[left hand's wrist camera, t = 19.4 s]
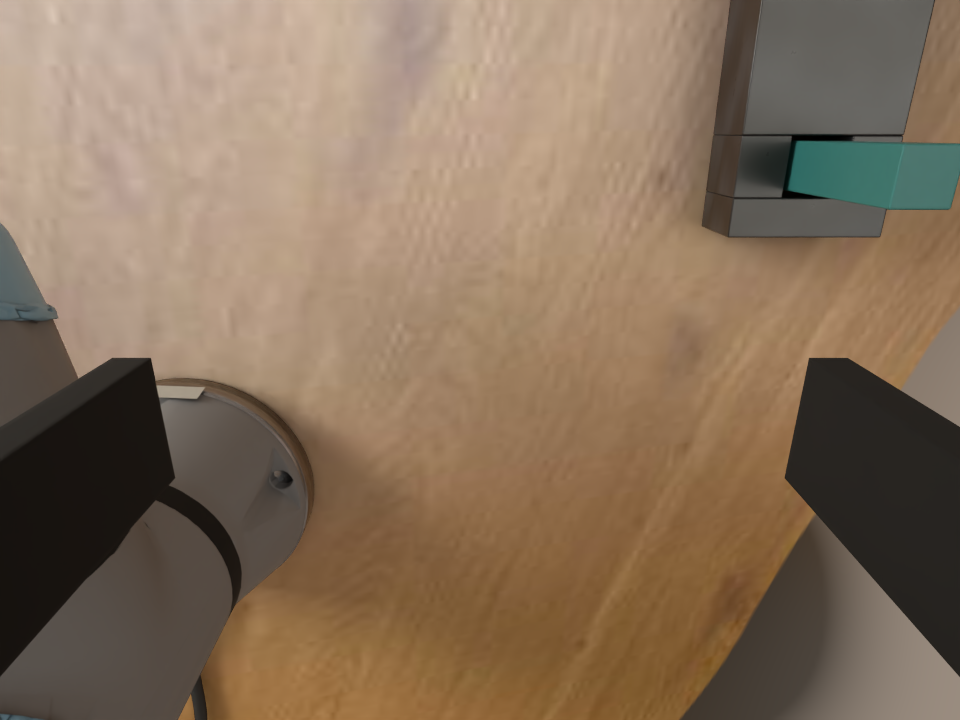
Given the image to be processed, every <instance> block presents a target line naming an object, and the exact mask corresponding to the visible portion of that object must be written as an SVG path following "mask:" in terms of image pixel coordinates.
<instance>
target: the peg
mask: <svg viewBox="0 0 960 720" xmlns="http://www.w3.org/2000/svg"><path fill="white" fill-rule="evenodd" d="M959 175H960V144H956V143H911V142H867V141H822V140H791V146H790V152H789V158H788V164H787V170H786V175H785V181H784V187H783V190H787V191H792V192H798V193H803V194H808V195H814V196H819V197H824V198H830V199H835V200H840V201H846V202H851V203H856V204H862V205H867V206H872V207H878V208H883V209H888V210H948V209H950V208H951V205H952V201H953V197H954V194H955V190H956V186H957V182H958V179H959Z"/></svg>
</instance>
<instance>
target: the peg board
mask: <svg viewBox="0 0 960 720" xmlns="http://www.w3.org/2000/svg"><path fill="white" fill-rule="evenodd" d="M934 2H935V0H731V2H730V10H729V18H728V25H727V33H726V41H725V49H724V57H723V65H722V72H721V80H720V88H719V96H718V104H717V112H716V119H715V127H714V136H713V142H712V150H711V158H710V166H709V174H708V181H707V189H706V190H707V192H706V197H705V205H704V213H703V221H702V226H703V227H705V228H708V229H710V230H712V231H715V232H717V233H719V234H722V235H724V236H726V237H880V236H881V232H882V227H883V223H884V219H885V214H886V210H887V209H883V208H878V207H872V206H867V205H862V204H856V203H851V202H846V201H840V200H835V199H830V198H824V197H819V196H814V195H808V194H803V193H798V192H792V191H783V187H784V181H785V175H786V170H787V164H788V158H789V152H790V146H791V140H792V136H791V135H814V136H813V137H812V140H822V141H867V142H902V140H903V136H901V135H904V132H905V127H906V123H907V119H908V115H909V110H910V106H911V102H912V97H913V93H914V89H915V84H916V80H917V76H918V71H919V67H920V63H921V58H922V54H923V50H924V45H925V41H926V37H927V32H928V28H929V24H930V19H931V15H932V11H933V7H934Z"/></svg>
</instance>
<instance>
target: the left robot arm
mask: <svg viewBox="0 0 960 720" xmlns="http://www.w3.org/2000/svg"><path fill="white" fill-rule="evenodd" d="M57 318H58V315H57V312H56V310H55V308H54V307H52V306H51V305H48V304H47V303H46V302H45V300H44V298H43V296H42V294H41V292H40V290H39V288H38V286H37V284H36V282H35V280H34V279H33V277H32V275H31V273H30V271H29V269H28V267H27V265H26V263H25V261H24V259H23V257H22V255H21V253H20V251H19V249H18V247H17V245H16V243H15V241H14V239H13V238H12V236H11V235H10V233H9V232H8V230H7V229H6V228H5V227H4V226H3V225H2V224H1V223H0V720H178V718H179V716H180V714H181V712H182V710H183V708H184V706H185V704H186V702H187V700H188V698H189V696H190V694H191V696H192V701H193V707H194V715H195V720H207V709H206V701H205V696H204V690H203V685H202V680H201V675H200V674H201V672H202V670H203V668H204V666H205V664H206V662H207V660H208V658H209V656H210V654H211V652H212V650H213V648H214V646H215V644H216V642H217V640H218V638H219V636H220V634H221V632H222V630H223V628H224V626H225V624H226V622H227V620H228V618H229V616H230V614H231V612H232V610H233V608H234V606H235V605H236V603H238V602H239V601H240V600H241V599H242V598H243V597H244V596H246V595H247V594H248V593H249V592H250V591H251V590H252V589H254V588H255V587H256V586H257V585H258V584H259V583H261V582H262V581H263V580H264V579H265V578H266V577H267V576H269V575H270V574H271V573H272V572H273V571H274V570H276V569H277V568H278V567H279V566H281V565H282V564H283V563H284V562H285V561H286V560H287V559H288V557H289V556H290V555H291V554H292V552H293V551H294V549H295V548H296V546H297V545H298V543H299V540H300V538H301V536H302V534H303V532H304V530H305V527H306V525H307V523H308V520H309V518H310V515H311V511H312V507H313V501H314V481H313V475H312V471H311V466H310V464H309V461H308V458H307V456H306V453H305V451H304V449H303V447H302V445H301V444H300V442H299V441H298V439H297V437H296V436H295V435H294V433H293V432H292V431H291V429H290V428H289V427H288V426H287V425H286V424H285V423H284V421H283V420H282V419H281V418H279V417H278V416H277V415H276V414H275V413H274V412H273V411H272V410H270V409H269V408H268V407H266V406H265V405H264V404H262V403H261V402H259V401H258V400H256V399H254V398H253V397H251V396H249V395H247V394H245V393H243V392H241V391H239V390H236V389H234V388H232V387H229V386H226V385H223V384H219V383H215V382H211V381H206V380H200V379H189V378H174V379H165V380H159V381H155V376H154V371H153V366H152V362H151V358H112V359H110V360H108V361H107V362H105V363H103V364H102V365H100V366H99V367H97V368H95V369H94V370H92V371H90V372H89V373H87V374H86V375H84V376H82V377H81V378H79V379H78V376H77V374H76V372H75V369H74V367H73V365H72V362H71V360H70V358H69V356H68V353H67V351H66V349H65V346H64V344H63V342H62V339H61V337H60V335H59V332H58V330H57V328H56V325H55V323H54V321H53V319H57ZM785 479H786V480H787V481H788V482H789V483H790V485H791V486H792V487H793V488H794V489H795V490H796V491H797V493H798V494H799V495H800V496H801V497H802V498H803V499H804V500H805V502H806V503H807V504H808V505H809V506H810V507H811V508H812V510H813V511H814V512H815V513H816V514H817V515H818V516H819V518H820V519H821V520H822V521H823V522H824V523H825V524H826V525H827V527H828V528H829V529H830V530H831V531H832V532H833V533H834V535H835V536H836V537H837V538H838V539H839V540H840V541H841V543H842V544H843V545H844V546H845V547H846V548H847V549H848V550H849V552H850V553H851V554H852V555H853V556H854V557H855V558H856V559H857V561H858V562H859V563H860V564H861V565H862V566H863V567H864V569H865V570H866V571H867V572H868V573H869V574H870V575H871V577H872V578H873V579H874V580H875V581H876V582H877V583H878V584H879V586H880V587H881V588H882V589H883V590H884V591H885V592H886V594H887V595H888V596H889V597H890V598H891V599H892V600H893V602H894V603H895V604H896V605H897V606H898V607H899V608H900V610H901V611H902V612H903V613H904V614H905V615H906V616H907V617H908V619H909V620H910V621H911V622H912V623H913V624H914V625H915V627H916V628H917V629H918V630H919V631H920V632H921V633H922V634H923V636H924V637H925V638H926V639H927V640H928V641H929V642H930V644H931V645H932V646H933V647H934V648H935V649H936V650H937V652H938V653H939V654H940V655H941V656H942V657H943V658H944V659H945V661H946V662H947V663H948V664H949V665H950V666H951V667H952V669H953V670H954V671H955V672H956V673H957V674H958V675H959V676H960V427H959V426H957V425H956V424H954V423H952V422H951V421H949V420H948V419H946V418H944V417H943V416H941V415H939V414H938V413H936V412H935V411H933V410H931V409H930V408H928V407H926V406H925V405H923V404H922V403H920V402H918V401H917V400H915V399H913V398H912V397H910V396H908V395H907V394H905V393H904V392H902V391H900V390H899V389H897V388H896V387H894V386H892V385H891V384H889V383H887V382H886V381H884V380H883V379H881V378H879V377H878V376H876V375H874V374H873V373H871V372H870V371H868V370H866V369H865V368H863V367H861V366H860V365H858V364H857V363H855V362H853V361H852V360H850V359H848V358H809V362H808V366H807V371H806V376H805V381H804V386H803V391H802V396H801V401H800V405H799V410H798V415H797V420H796V425H795V430H794V435H793V440H792V445H791V449H790V454H789V459H788V464H787V469H786V474H785Z"/></svg>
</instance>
